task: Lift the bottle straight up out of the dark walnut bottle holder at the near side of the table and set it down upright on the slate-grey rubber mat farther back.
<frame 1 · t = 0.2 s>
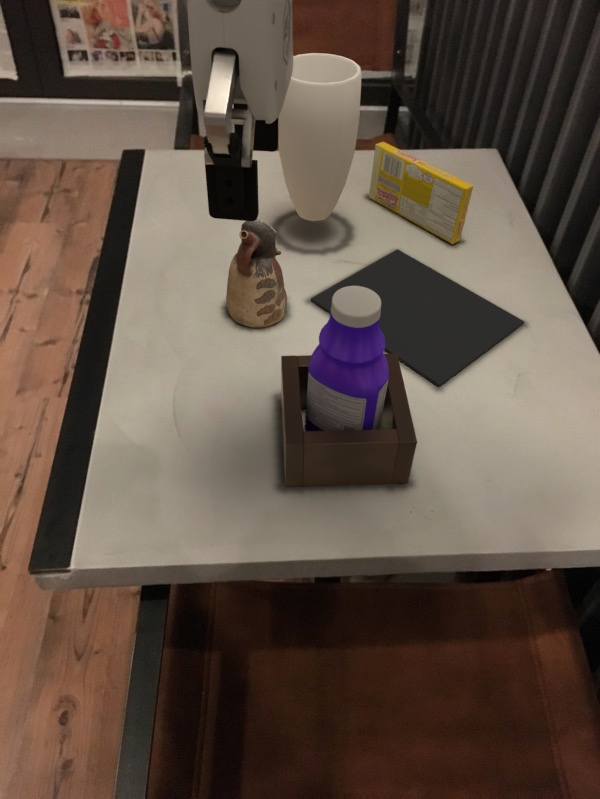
hand: (246, 180, 48), 28 cm above the table, tool pointing down, fingers open, 9 cm apart
cup: (313, 232, 94), on the table
holder: (341, 438, 68), on the table
figurine: (257, 310, 82), on the table
candy box: (412, 219, 97), on the table
mat: (415, 312, 82), on the table
bottle: (340, 439, 68), resting in holder
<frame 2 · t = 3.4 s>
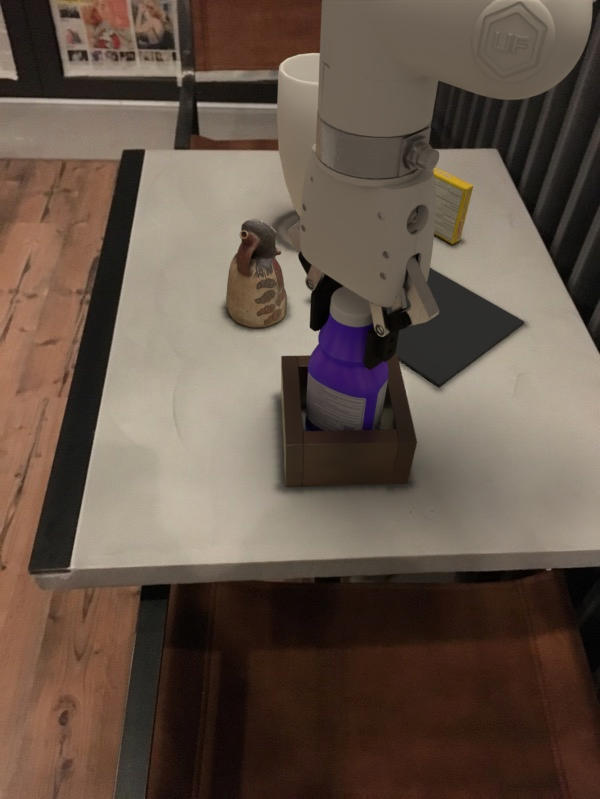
hand: (351, 340, 59), 13 cm above the table, tool pointing down, fingers closed on bottle, 5 cm apart
bottle: (340, 439, 68), resting in holder, touching gripper
everything else where it was.
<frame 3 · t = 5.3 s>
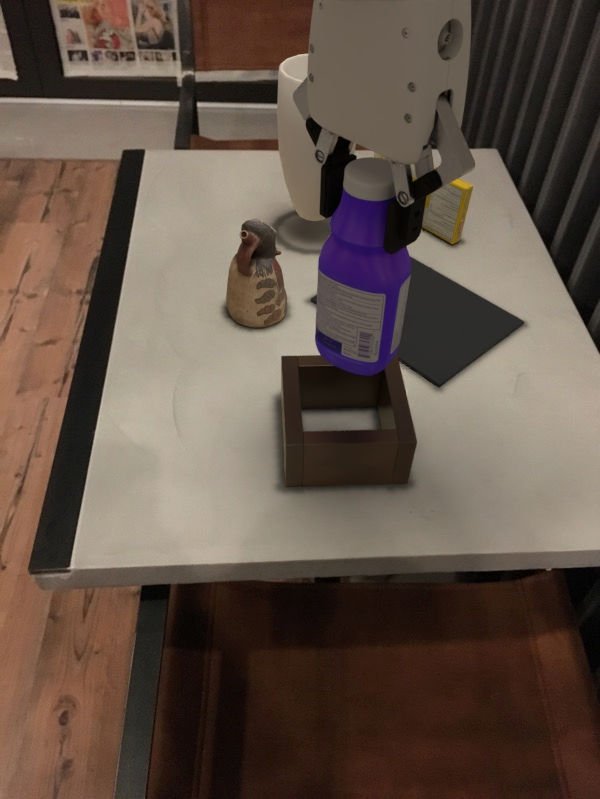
hand: (368, 225, 51), 24 cm above the table, tool pointing down, fingers closed on bottle, 5 cm apart
bottle: (356, 357, 60), point 11 cm above the table, touching gripper
everything else where it was.
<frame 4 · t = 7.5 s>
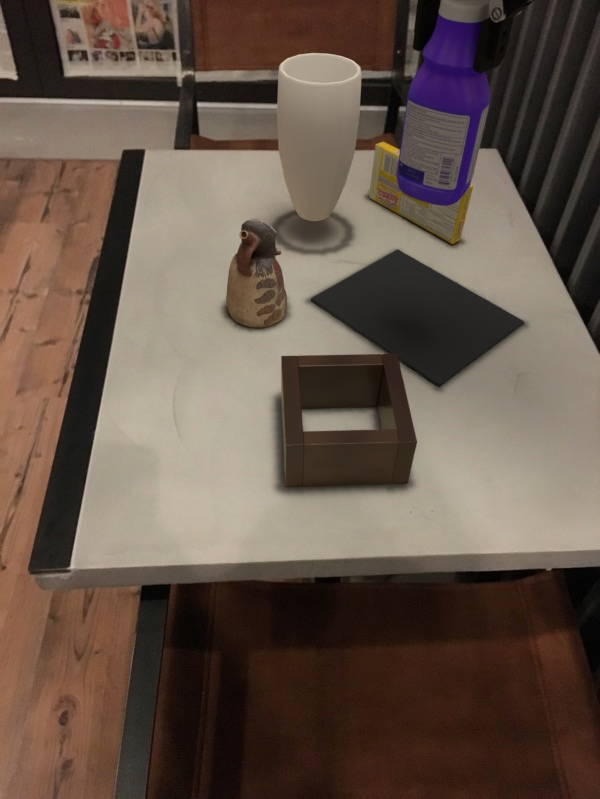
hand: (456, 55, 59), 30 cm above the table, tool pointing down, fingers closed on bottle, 5 cm apart
bottle: (431, 194, 68), point 17 cm above the table, touching gripper
everything else where it was.
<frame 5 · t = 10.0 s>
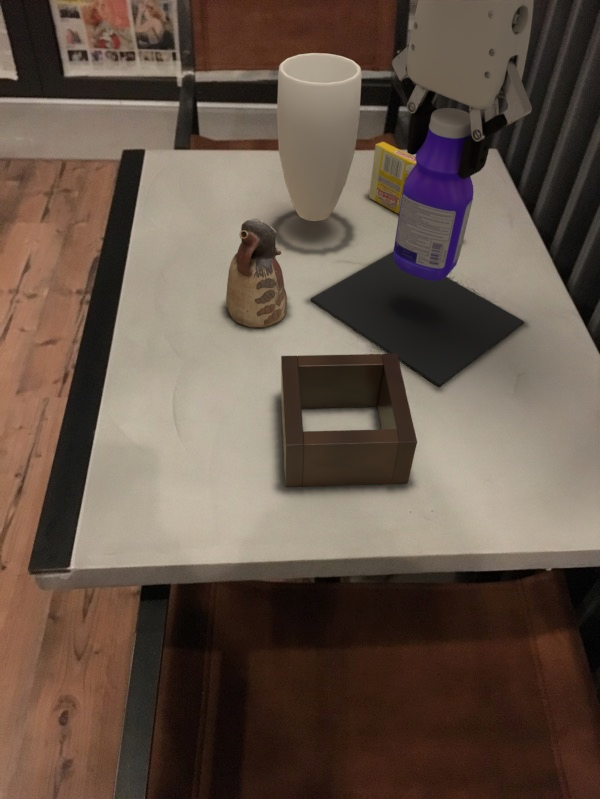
hand: (444, 160, 68), 19 cm above the table, tool pointing down, fingers closed on bottle, 5 cm apart
bottle: (423, 269, 78), point 6 cm above the table, touching gripper
everything else where it was.
when the fingers open (13 cm above the table, at t = 11.9 s): bottle stays where it is, resting on mat.
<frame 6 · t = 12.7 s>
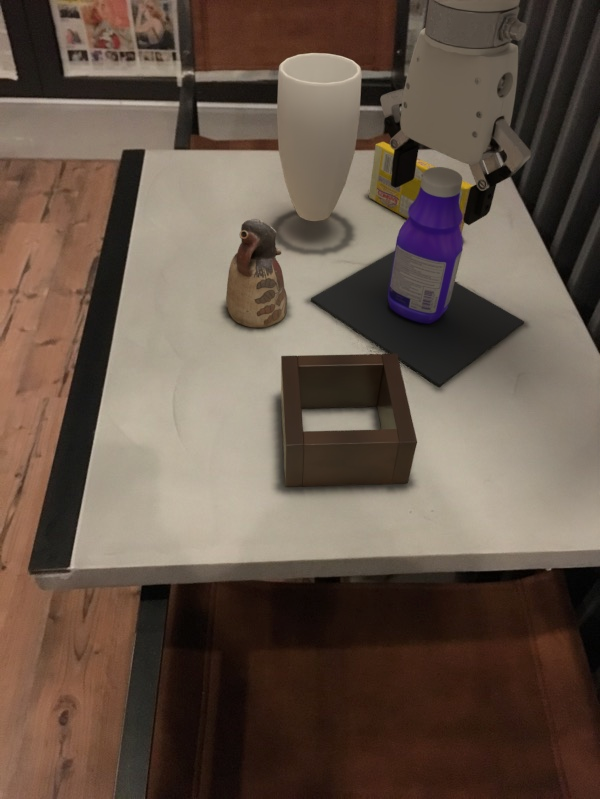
hand: (437, 200, 72), 15 cm above the table, tool pointing down, fingers open, 9 cm apart
bottle: (416, 311, 82), resting on mat
everything else where it was.
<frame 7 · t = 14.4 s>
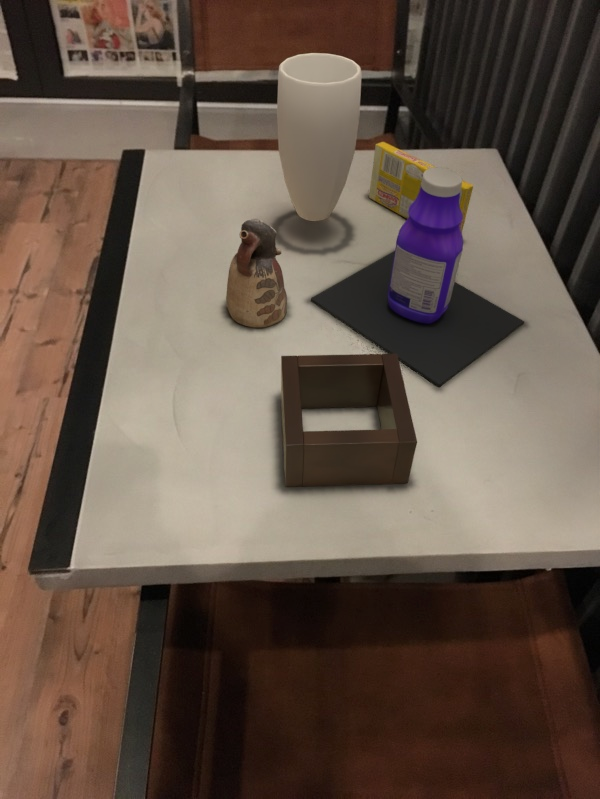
nothing on the table moved.
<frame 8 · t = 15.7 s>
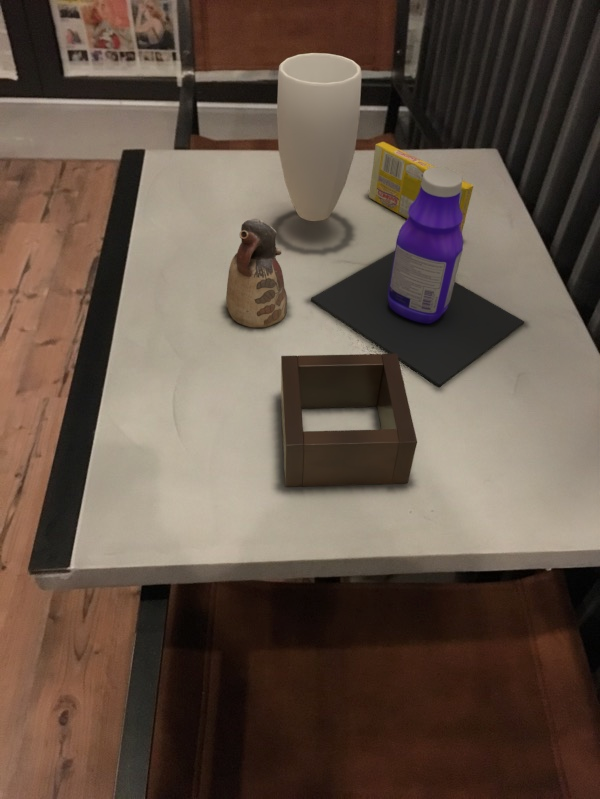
nothing on the table moved.
at the end: bottle inside the target area on the mat (0.1 cm from its centre), point 0.2 cm above the mat's base; bottle tilted 0°; bottle touching mat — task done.
